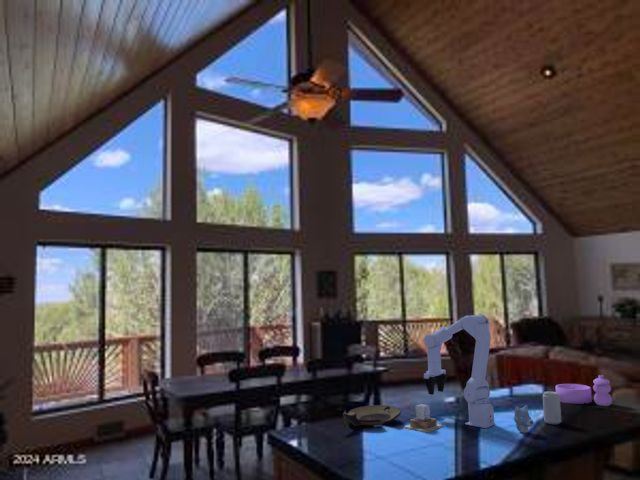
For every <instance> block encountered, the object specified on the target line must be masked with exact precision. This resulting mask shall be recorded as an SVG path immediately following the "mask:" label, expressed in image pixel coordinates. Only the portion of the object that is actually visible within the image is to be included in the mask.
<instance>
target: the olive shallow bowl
mask: <svg viewBox="0 0 640 480" xmlns="http://www.w3.org/2000/svg"><path fill="white" fill-rule="evenodd" d="M401 413H402V410H401V409H400V408H399V407H396V406H395V405H389V404H377V405H376V404H375V405H365V406H359V407H356V408H353V409H351V410H349V411H348V412H347V413H346V412H343V413H342V417H344V418H345V419H346V420H347V421H349V422H350V424H352V425H353V426H356V427H358V426H369V427H371V426H380V425H384V424H388V423H390V422H392V421H394V420H396V419H397V418H399V417H400V415H401Z"/></svg>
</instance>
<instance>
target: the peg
mask: <svg viewBox="0 0 640 480" xmlns="http://www.w3.org/2000/svg"><path fill="white" fill-rule="evenodd" d="M430 410H431V409H430V404H423V403H420V404H416V405H415V418H416V420H417V421H423V422H426V421H429V420H430V418H431V416H430V415H431V413H430V412H431V411H430Z"/></svg>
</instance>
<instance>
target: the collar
mask: <svg viewBox="0 0 640 480" xmlns="http://www.w3.org/2000/svg"><path fill="white" fill-rule="evenodd" d="M437 421H438V420H437V418H434V417H433V418H432V417H430V420H429V421H426V422H423V421H417V420H416V417H414V418H412V419H409V424H407V425H405V426H404V429H408V430H414V431H418V432H422V433H430V432H432V431H435V430H438V429H441V428H444V426H443V424H439V423H438V422H437Z"/></svg>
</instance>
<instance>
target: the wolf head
mask: <svg viewBox="0 0 640 480" xmlns="http://www.w3.org/2000/svg"><path fill="white" fill-rule="evenodd" d="M513 420H514V423H515V427H516V430H518V432H520V433H523V434H527V433H528V431H529V428H531V427H533V426H534V425H535V422H534V421H533V419H532V418H531V416H530V413H529V409H528V405H527V404H526V405H524V406H523V407H520V406H515V408H514V416H513Z"/></svg>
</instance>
